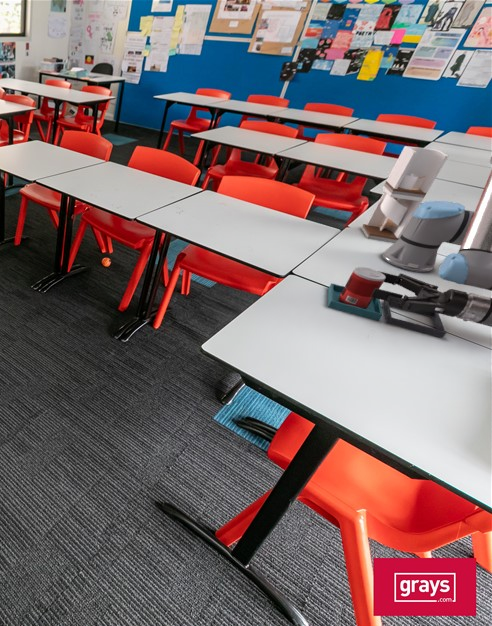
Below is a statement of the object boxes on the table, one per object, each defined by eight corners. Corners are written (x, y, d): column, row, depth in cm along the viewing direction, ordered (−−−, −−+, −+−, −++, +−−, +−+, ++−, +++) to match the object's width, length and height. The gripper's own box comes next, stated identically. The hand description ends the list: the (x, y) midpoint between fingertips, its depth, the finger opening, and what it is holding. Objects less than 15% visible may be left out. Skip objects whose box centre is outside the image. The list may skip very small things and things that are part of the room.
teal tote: (328, 289, 140) (331, 283, 139) (375, 301, 135) (379, 295, 134) (327, 307, 131) (331, 300, 130) (378, 321, 125) (382, 314, 124)
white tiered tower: (361, 228, 187) (404, 146, 167) (389, 233, 183) (437, 149, 163) (367, 237, 178) (414, 152, 158) (397, 242, 175) (448, 156, 155)
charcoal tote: (382, 303, 134) (385, 297, 133) (433, 316, 129) (437, 311, 128) (385, 323, 125) (389, 317, 124) (441, 338, 119) (446, 332, 118)
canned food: (372, 311, 129) (391, 280, 123) (343, 308, 130) (361, 277, 124) (360, 298, 135) (378, 268, 129) (333, 295, 136) (350, 265, 130)
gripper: (462, 337, 112) (367, 312, 121) (445, 297, 130) (363, 277, 139) (480, 314, 108) (381, 289, 117) (460, 275, 125) (375, 256, 134)
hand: (371, 282), depth 128 cm, fingers open, 13 cm apart
